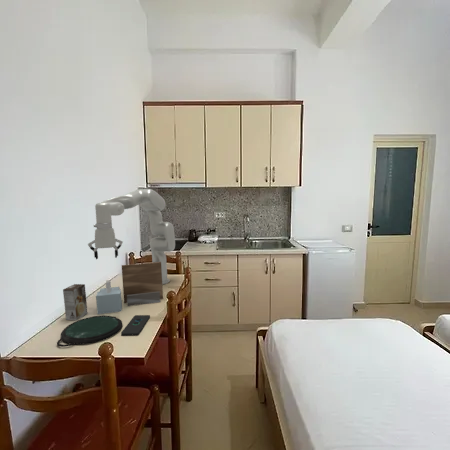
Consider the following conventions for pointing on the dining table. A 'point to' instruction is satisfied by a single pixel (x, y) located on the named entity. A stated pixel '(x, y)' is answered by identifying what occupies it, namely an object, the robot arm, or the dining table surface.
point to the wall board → (142, 283)
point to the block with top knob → (109, 299)
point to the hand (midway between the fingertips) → (106, 258)
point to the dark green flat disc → (90, 330)
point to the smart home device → (135, 325)
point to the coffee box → (75, 301)
